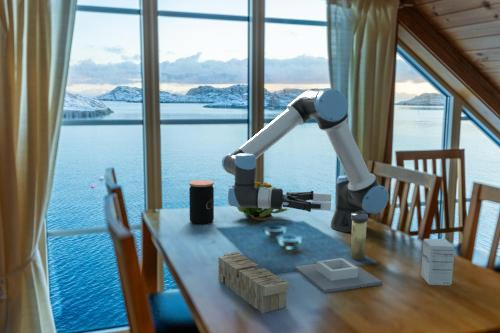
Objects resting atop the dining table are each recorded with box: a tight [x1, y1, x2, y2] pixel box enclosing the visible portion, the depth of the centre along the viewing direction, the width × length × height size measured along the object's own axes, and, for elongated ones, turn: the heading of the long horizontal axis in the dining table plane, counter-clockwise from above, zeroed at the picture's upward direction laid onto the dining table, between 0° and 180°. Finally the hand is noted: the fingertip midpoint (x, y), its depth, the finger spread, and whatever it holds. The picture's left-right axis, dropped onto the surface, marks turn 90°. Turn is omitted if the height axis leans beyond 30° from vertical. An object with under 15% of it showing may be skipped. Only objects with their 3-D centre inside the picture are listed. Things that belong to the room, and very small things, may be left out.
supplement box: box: [420, 238, 456, 286], centre depth 151 cm, size 7×7×13 cm
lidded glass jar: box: [349, 211, 369, 261], centre depth 171 cm, size 6×6×16 cm
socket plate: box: [294, 257, 383, 294], centre depth 154 cm, size 20×20×4 cm
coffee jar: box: [188, 179, 215, 226], centre depth 214 cm, size 11×11×18 cm
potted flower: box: [236, 181, 291, 221], centre depth 222 cm, size 25×24×18 cm
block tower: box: [218, 251, 290, 314], centre depth 141 cm, size 8×8×29 cm
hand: (331, 202), depth 170 cm, fingers open, 13 cm apart
